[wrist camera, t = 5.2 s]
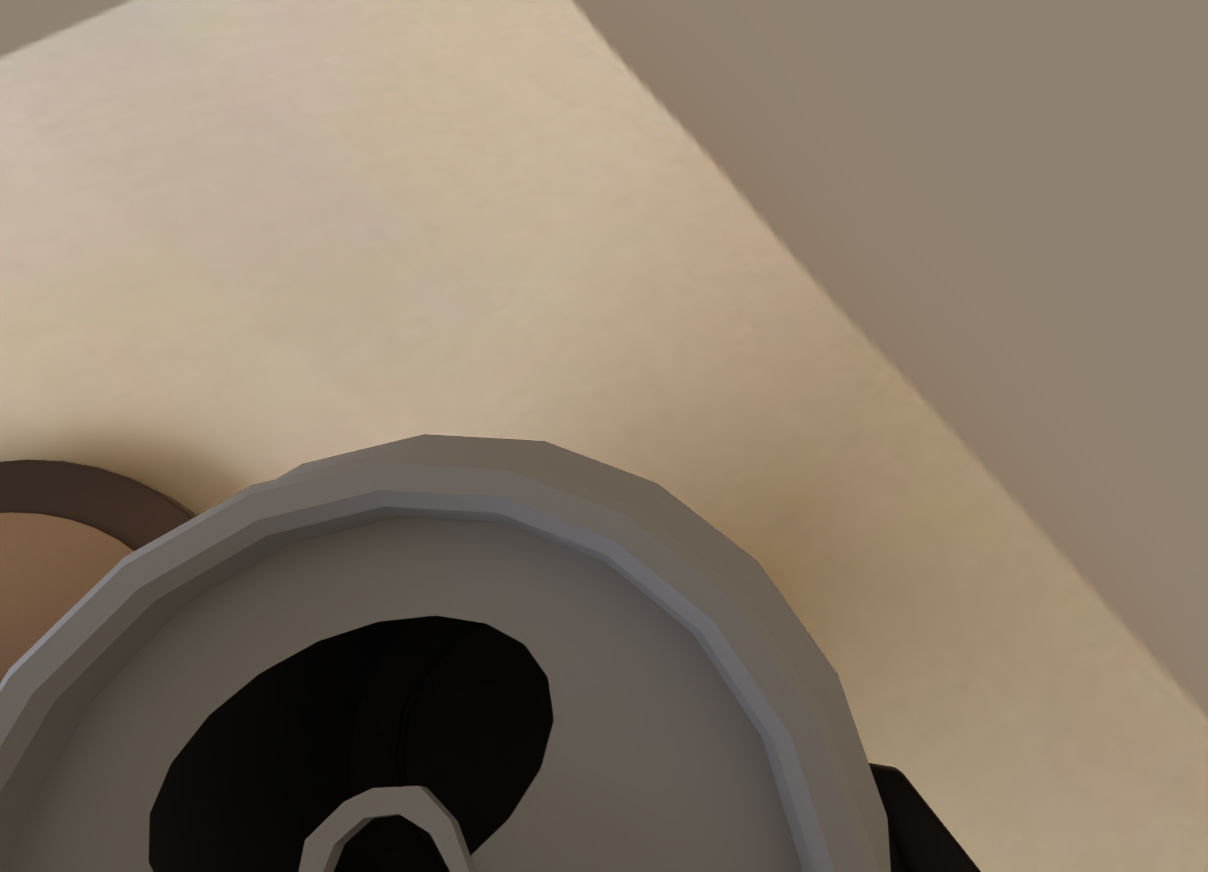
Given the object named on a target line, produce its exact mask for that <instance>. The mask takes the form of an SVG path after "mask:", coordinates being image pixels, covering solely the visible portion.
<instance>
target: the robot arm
mask: <svg viewBox="0 0 1208 872" xmlns="http://www.w3.org/2000/svg"><path fill="white" fill-rule="evenodd" d="M869 766H870V769H871V772H872V775H873V778H874V780H875V783H876V786H877V789H878V792H879V795H880V798H881V800H882V803H883V806H884V809H885V812H886V815H887V820H888V835H889V851H890V867H891V872H981V871H980V870H979V869H978V867H977V866H976V865H975V864H974V862H973V861H972V860H971V859H970V857H969V856H968V855H967V854H966V852H965V851H964V850H963V849H962V847H961V846H960V845H959V843H958V842H957V841H956V840H955V838H954V837H953V836H952V835H951V833H950V832H949V831H948V830H947V828H946V827H945V826H944V825H943V823H942V822H941V821H940V819H939V818H938V817H937V816H936V814H935V813H934V812H933V811H932V809H931V808H930V807H929V806H928V804H927V803H926V802H925V801H924V799H923V798H922V797H921V795H920V794H919V793H918V792H917V790H916V789H915V788H914V787H913V785H912V784H911V783H910V782H909V780H908V779H907V778H906V777H905V775H904V774H903V773H902V772H901V771H899V770H898V769H897V768H894V767H890V766H884V765H878V764H872V763H869Z"/></svg>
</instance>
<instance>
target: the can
mask: <svg viewBox="0 0 1208 872" xmlns="http://www.w3.org/2000/svg"><path fill="white" fill-rule="evenodd" d="M0 872H891V867H890V851H889V835H888V820H887V815H886V812H885V809H884V806H883V803H882V800H881V798H880V795H879V792H878V789H877V786H876V783H875V780H874V778H873V775H872V772H871V769H870V766H869V763H868V760H867V757H866V755H865V752H864V749H863V746H862V743H861V740H860V737H859V734H858V732H857V729H856V726H855V723H854V720H853V717H852V714H851V712H850V709H849V706H848V703H847V700H846V697H845V694H844V691H843V689H842V686H841V683H840V680H839V677H838V674H837V673H836V671H835V670H834V668H833V667H832V666H831V664H830V663H829V661H828V660H827V659H826V657H825V656H824V654H823V653H822V651H821V650H820V649H819V647H818V646H817V644H816V643H815V642H814V640H813V639H812V637H811V636H810V635H809V633H808V632H807V630H806V629H805V627H804V626H803V625H802V623H801V622H800V620H799V619H798V618H797V616H796V615H795V613H794V612H793V611H792V609H791V608H790V606H789V605H788V603H787V602H786V601H785V599H784V598H783V596H782V595H781V594H780V592H779V591H778V589H777V588H776V587H775V585H774V584H773V582H772V581H771V579H770V578H769V577H768V575H767V574H766V572H765V571H764V570H763V568H762V567H761V565H760V564H759V562H758V561H756V560H755V559H754V558H753V557H751V556H750V555H749V554H747V553H746V552H745V551H744V550H742V549H741V548H740V547H738V546H737V545H736V544H735V543H733V542H732V541H731V540H729V539H728V538H727V537H726V536H724V535H723V534H722V533H720V532H719V531H718V530H717V529H715V528H714V527H713V526H711V525H710V524H709V523H708V522H706V521H705V520H704V519H702V518H701V517H700V516H699V515H697V514H696V513H695V512H693V511H692V510H691V509H690V508H688V507H687V506H686V505H684V504H683V503H682V502H681V501H679V500H678V499H677V498H675V497H674V496H673V495H672V494H670V493H669V492H668V491H667V490H665V489H664V488H663V487H661V486H660V485H659V484H657V483H655V482H652V481H649V480H647V479H644V478H641V477H639V476H636V475H633V474H631V473H628V472H625V471H623V470H620V469H617V468H615V467H612V466H609V465H607V464H604V463H601V462H599V461H596V460H593V459H591V458H588V457H585V456H583V455H580V454H577V453H575V452H572V451H569V450H567V449H564V448H561V447H559V446H556V445H553V444H551V443H548V442H545V441H532V440H514V439H496V438H479V437H461V436H443V435H425V434H424V435H420V436H416V437H412V438H407V439H403V440H399V441H395V442H391V443H387V444H383V445H379V446H374V447H370V448H366V449H362V450H358V451H354V452H350V453H346V454H341V455H337V456H333V457H329V458H325V459H321V460H317V461H312V462H308V463H304V464H302V465H300V466H298V467H296V468H295V469H293V470H291V471H289V472H288V473H286V474H284V475H282V476H281V477H279V478H277V479H275V480H271V481H267V482H263V483H259V484H255V485H251V486H249V487H248V488H246V489H244V490H242V491H240V492H239V493H237V494H235V495H233V496H232V497H230V498H228V499H226V500H225V501H223V502H221V503H219V504H217V505H216V506H214V507H212V508H210V509H209V510H207V511H205V512H203V513H201V514H200V515H198V516H196V517H194V518H193V519H191V520H189V521H187V522H186V523H184V524H182V525H180V526H178V527H177V528H175V529H173V530H171V531H170V532H168V533H166V534H164V535H163V536H161V537H159V538H157V539H155V540H154V541H152V542H150V543H148V544H147V545H145V546H143V547H141V548H140V549H138V550H136V551H134V552H132V553H131V554H129V555H127V556H125V557H124V558H123V559H122V560H121V561H120V562H119V563H118V564H117V565H116V566H115V567H114V568H113V569H112V570H111V571H109V572H108V573H107V574H106V575H105V576H104V577H103V578H102V579H101V580H100V581H99V582H98V583H97V584H96V585H95V586H94V587H93V588H92V589H91V590H90V591H89V592H88V593H87V594H86V595H85V596H84V597H83V598H82V599H81V600H80V601H79V602H78V603H77V604H76V605H74V606H73V607H72V608H71V609H70V610H69V611H68V612H67V613H66V614H65V615H64V616H63V617H62V618H61V619H60V620H59V621H58V622H57V623H56V624H55V625H54V626H53V627H52V628H51V629H50V630H49V631H48V632H47V633H46V634H45V635H44V636H43V637H42V638H41V639H39V640H38V641H37V642H36V643H35V644H34V645H33V646H32V647H31V648H30V649H29V650H28V651H27V652H26V653H25V654H24V655H23V656H22V657H21V658H20V659H19V660H18V661H17V662H16V663H15V664H14V665H13V666H12V667H11V668H10V669H9V670H8V672H7V673H6V675H5V677H4V678H3V680H2V681H1V683H0Z"/></svg>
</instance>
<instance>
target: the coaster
mask: <svg viewBox="0 0 1208 872" xmlns="http://www.w3.org/2000/svg"><path fill="white" fill-rule="evenodd" d="M196 516H197V515H195V514H194V513H193V512H191V511H190V510H188V509H187V508H186V507H184V506H183V505H181V504H180V503H178V502H177V501H176V500H174V499H173V498H171V497H169V496H167V495H165V494H163V493H161V492H159V491H157V490H155V489H153V488H151V487H149V486H147V485H145V484H143V483H141V482H139V481H136V480H134V479H132V478H129V477H126V476H123V475H120V474H117V473H113V472H110V471H107V470H104V469H101V468H98V467H93V466H87V465H82V464H76V463H71V462H65V461H47V460H17V461H3V462H0V683H1V681H2V680H3V678H4V677H5V675H6V673H7V672H8V670H9V669H10V668H11V667H12V666H13V665H14V664H15V663H16V662H17V661H18V660H19V659H20V658H21V657H22V656H23V655H24V654H25V653H26V652H27V651H28V650H29V649H30V648H31V647H32V646H33V645H34V644H35V643H36V642H37V641H38V640H39V639H41V638H42V637H43V636H44V635H45V634H46V633H47V632H48V631H49V630H50V629H51V628H52V627H53V626H54V625H55V624H56V623H57V622H58V621H59V620H60V619H61V618H62V617H63V616H64V615H65V614H66V613H67V612H68V611H69V610H70V609H71V608H72V607H73V606H74V605H76V604H77V603H78V602H79V601H80V600H81V599H82V598H83V597H84V596H85V595H86V594H87V593H88V592H89V591H90V590H91V589H92V588H93V587H94V586H95V585H96V584H97V583H98V582H99V581H100V580H101V579H102V578H103V577H104V576H105V575H106V574H107V573H108V572H109V571H111V570H112V569H113V568H114V567H115V566H116V565H117V564H118V563H119V562H120V561H121V560H122V559H123V558H124V557H125V556H127V555H129V554H131V553H132V552H134V551H136V550H138V549H140V548H141V547H143V546H145V545H147V544H148V543H150V542H152V541H154V540H155V539H157V538H159V537H161V536H163V535H164V534H166V533H168V532H170V531H171V530H173V529H175V528H177V527H178V526H180V525H182V524H184V523H186V522H187V521H189V520H191V519H193V518H194V517H196Z"/></svg>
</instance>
